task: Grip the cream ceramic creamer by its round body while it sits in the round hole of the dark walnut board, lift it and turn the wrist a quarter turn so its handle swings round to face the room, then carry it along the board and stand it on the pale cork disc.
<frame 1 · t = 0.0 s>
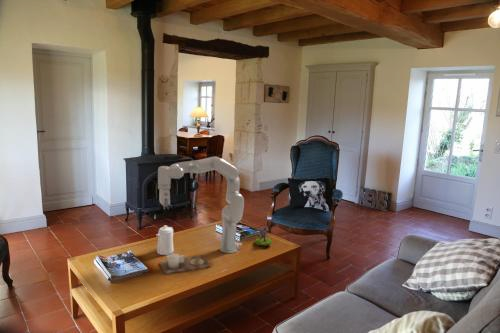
hand: (164, 212, 226), 31 cm above the table, fingers open, 9 cm apart
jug: (173, 267, 221), resting in board
board: (184, 265, 224), on the table
animal figurine: (263, 245, 262), on the table
coffeepot: (165, 252, 241), on the table
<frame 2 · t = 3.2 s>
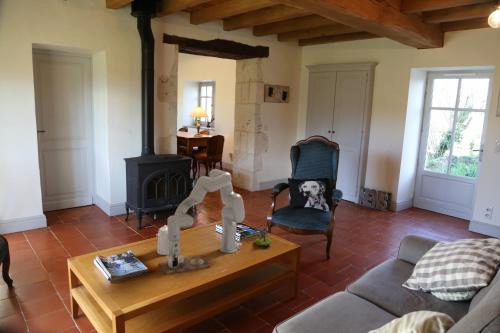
hand: (173, 263, 221), 2 cm above the table, fingers closed on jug, 6 cm apart
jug: (173, 267, 221), resting in board, touching gripper
everything else where it was.
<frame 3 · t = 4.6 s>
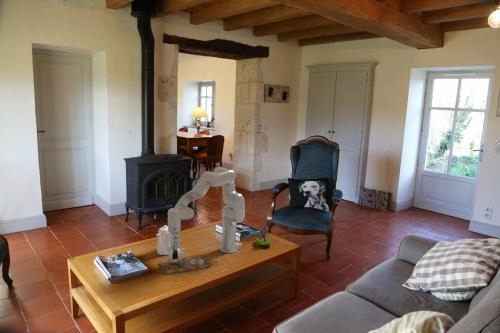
hand: (174, 256, 220), 7 cm above the table, fingers closed on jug, 6 cm apart
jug: (174, 259, 220), point 5 cm above the table, touching gripper
everything else where it was.
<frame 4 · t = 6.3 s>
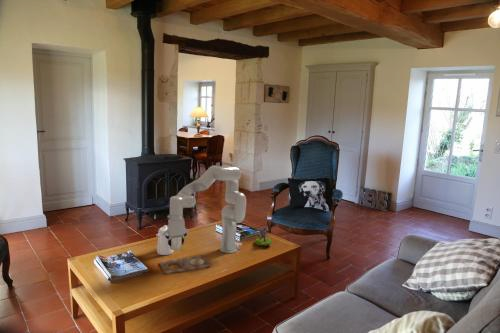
hand: (176, 244, 219), 15 cm above the table, fingers closed on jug, 6 cm apart
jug: (176, 248, 219), point 12 cm above the table, touching gripper
everything else where it was.
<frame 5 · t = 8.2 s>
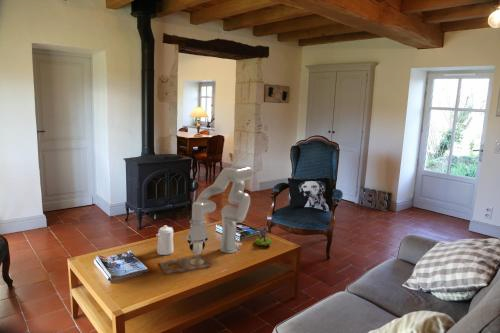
hand: (197, 248, 226), 10 cm above the table, fingers closed on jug, 6 cm apart
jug: (197, 252, 226), point 8 cm above the table, touching gripper
everything else where it was.
when the fingers open (4 cm above the table, at t = 9.6 s): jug stays where it is, resting on board.
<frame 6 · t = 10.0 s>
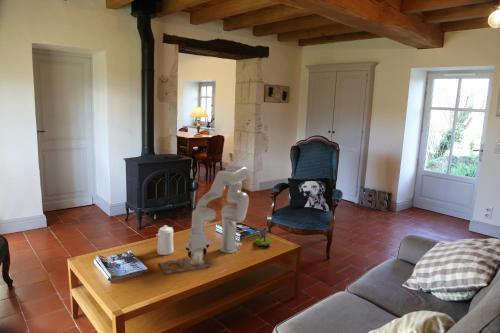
hand: (197, 255, 227), 5 cm above the table, fingers open, 9 cm apart
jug: (197, 261, 227), point 1 cm above the table, touching board
everything else where it was.
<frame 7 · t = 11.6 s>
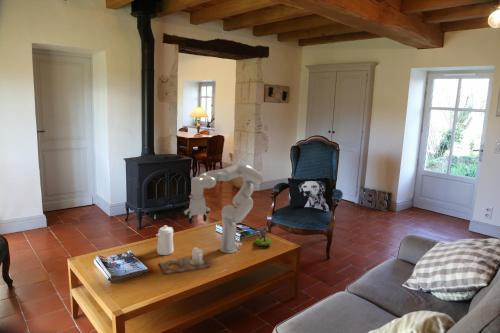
hand: (197, 222, 231), 24 cm above the table, fingers open, 9 cm apart
nothing on the table moved.
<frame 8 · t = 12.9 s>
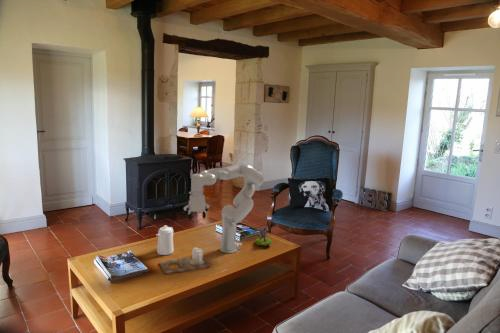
hand: (196, 218, 232), 26 cm above the table, fingers open, 9 cm apart
nothing on the table moved.
at the end: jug inside the target area on the board (0.1 cm from its centre), point 1.2 cm above the board's base; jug tilted 0°; the gripper is holding nothing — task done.
